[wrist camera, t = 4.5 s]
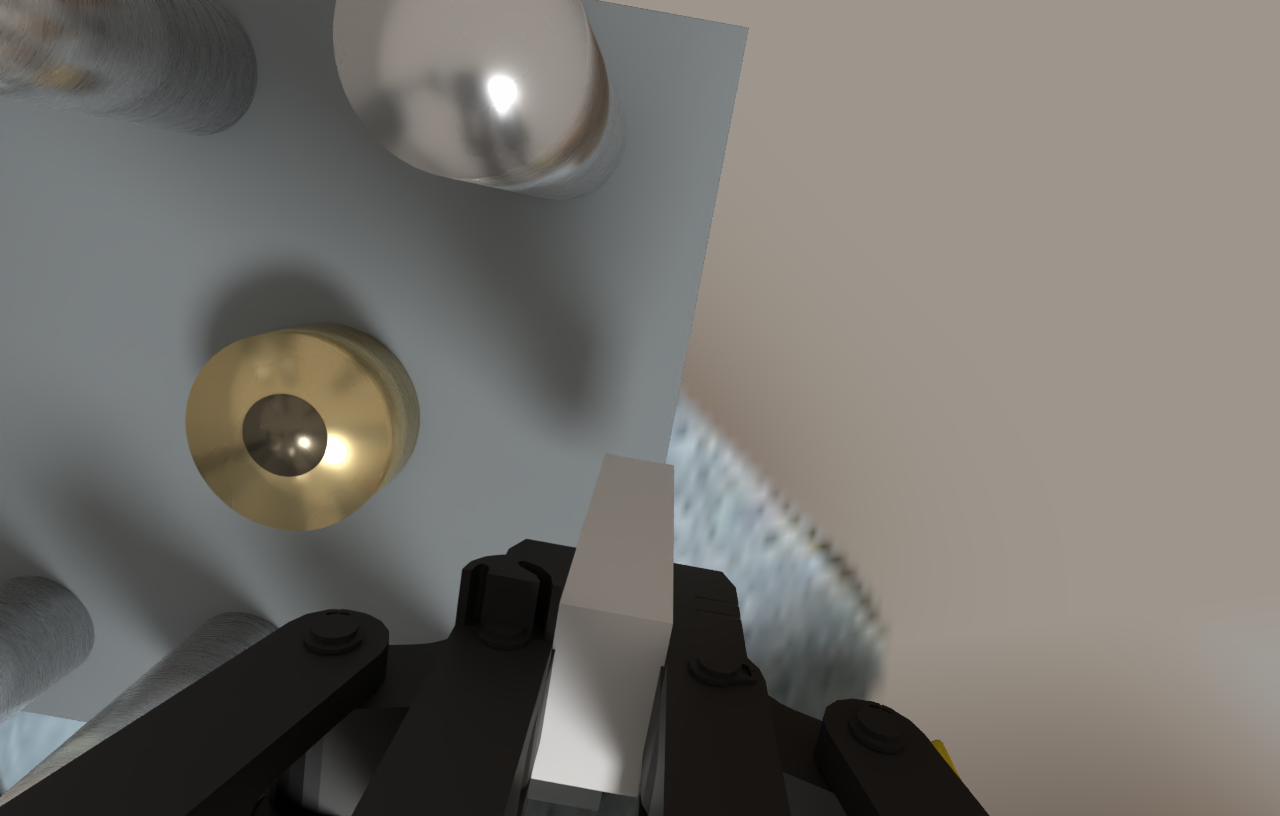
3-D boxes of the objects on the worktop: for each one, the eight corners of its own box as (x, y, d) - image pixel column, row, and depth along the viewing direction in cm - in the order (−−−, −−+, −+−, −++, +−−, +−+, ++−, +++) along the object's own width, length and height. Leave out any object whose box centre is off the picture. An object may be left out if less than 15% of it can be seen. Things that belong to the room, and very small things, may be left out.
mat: (-300, 641, 23) (-321, 650, 22) (-420, -179, 18) (-451, -191, 17) (599, 799, 23) (598, 811, 23) (746, 32, 18) (748, 27, 17)
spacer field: (-79, 652, 22) (-564, 930, 13) (-127, -65, 18) (-908, -351, 9) (526, 758, 22) (436, 1101, 14) (636, 73, 18) (605, -75, 9)
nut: (243, 487, 21) (186, 520, 18) (240, 312, 19) (180, 323, 17) (416, 507, 20) (383, 542, 18) (423, 332, 19) (388, 346, 17)
